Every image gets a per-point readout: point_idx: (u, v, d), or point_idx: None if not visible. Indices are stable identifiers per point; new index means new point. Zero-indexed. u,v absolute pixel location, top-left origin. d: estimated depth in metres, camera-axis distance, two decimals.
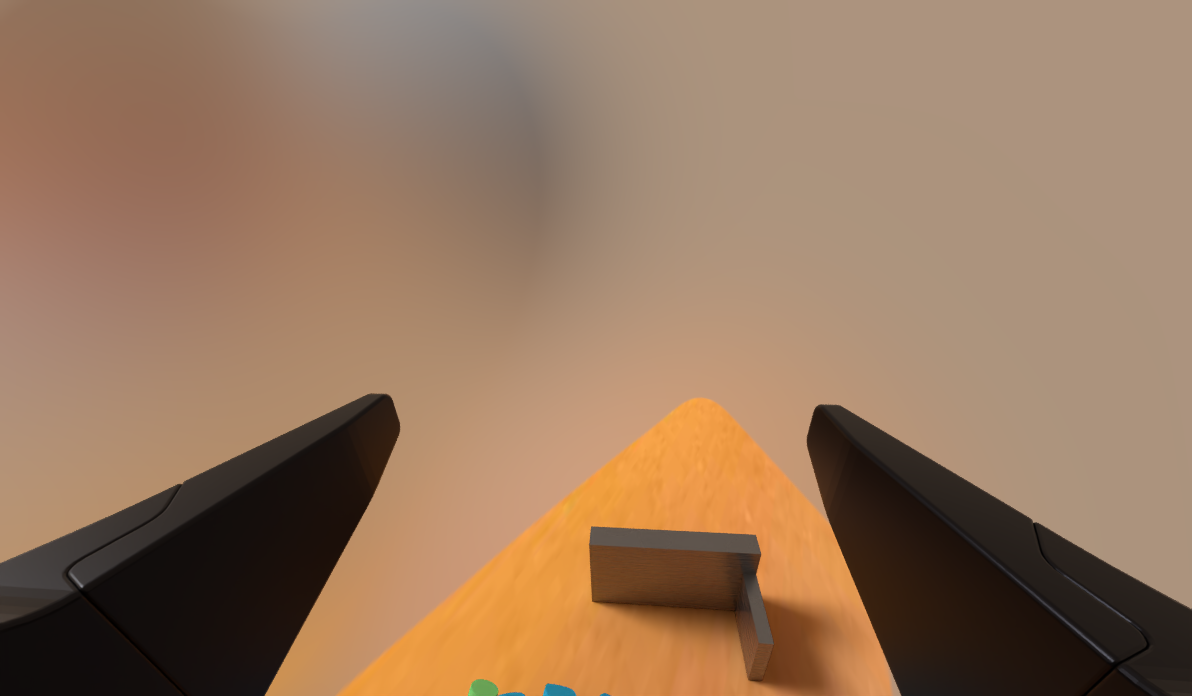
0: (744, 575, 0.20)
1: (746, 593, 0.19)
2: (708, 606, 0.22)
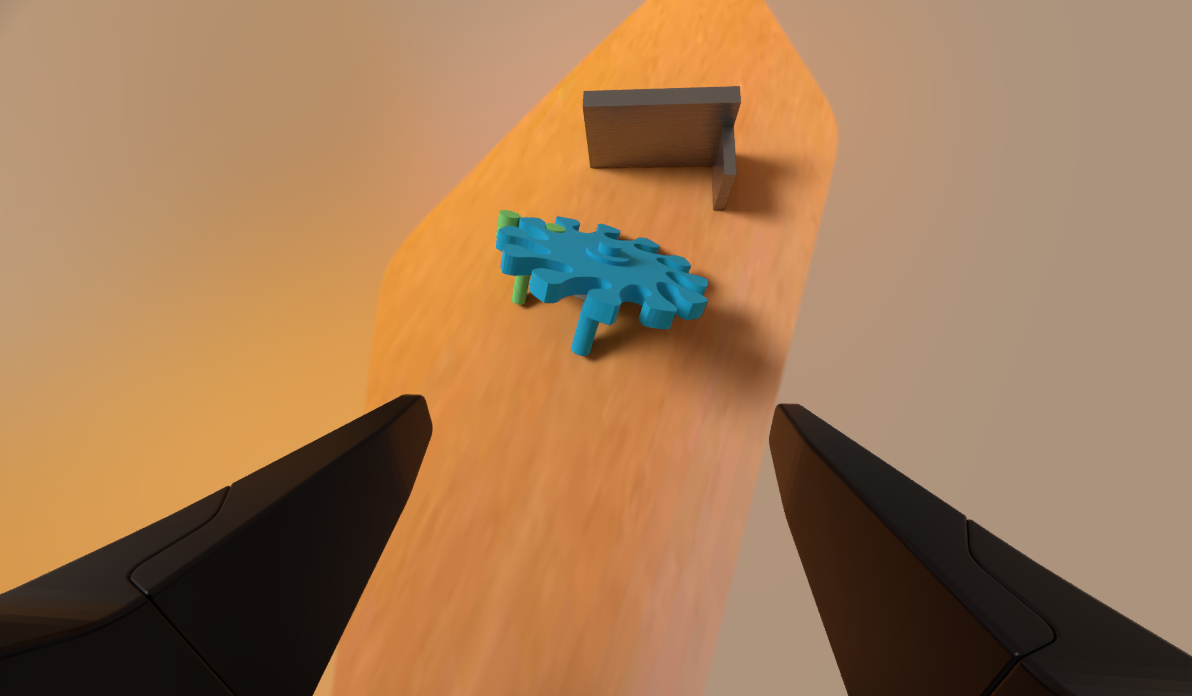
0: (723, 127, 0.22)
1: (722, 141, 0.22)
2: (689, 163, 0.25)
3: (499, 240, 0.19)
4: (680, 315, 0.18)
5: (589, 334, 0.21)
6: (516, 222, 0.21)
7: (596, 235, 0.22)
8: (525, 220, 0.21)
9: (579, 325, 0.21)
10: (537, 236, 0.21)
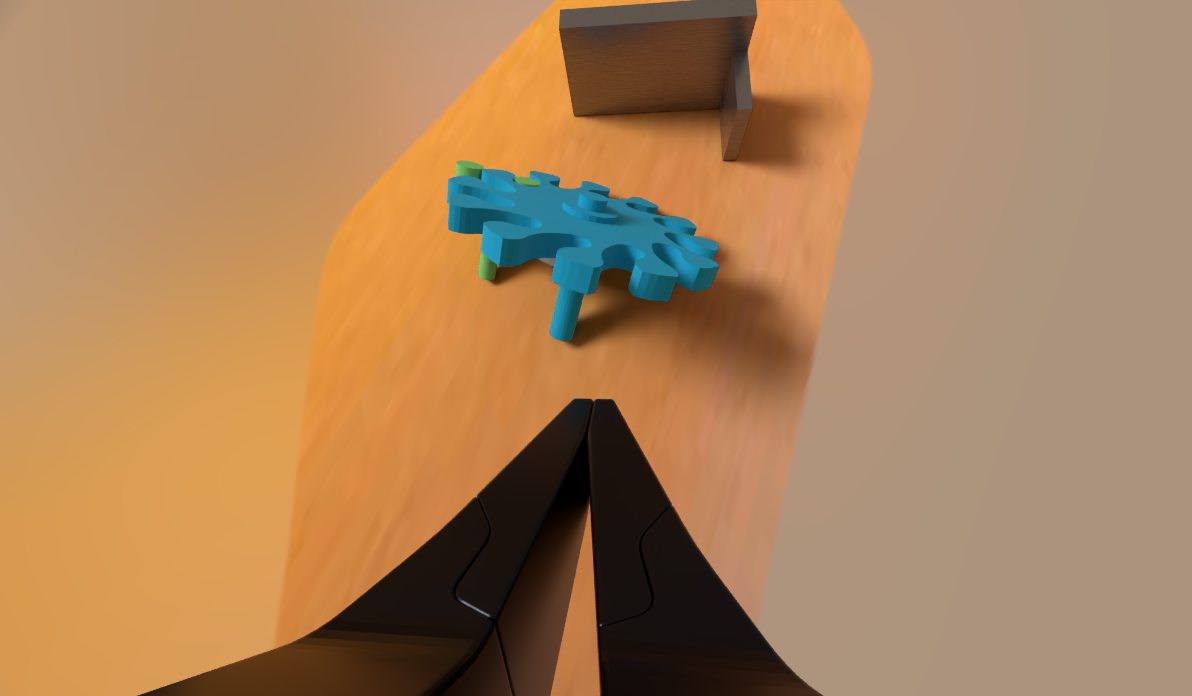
0: (734, 53, 0.18)
1: (733, 71, 0.18)
2: (692, 106, 0.21)
3: (450, 192, 0.15)
4: (682, 286, 0.14)
5: (570, 314, 0.17)
6: (477, 175, 0.17)
7: (578, 192, 0.18)
8: (488, 172, 0.17)
9: (558, 303, 0.17)
10: (503, 191, 0.17)
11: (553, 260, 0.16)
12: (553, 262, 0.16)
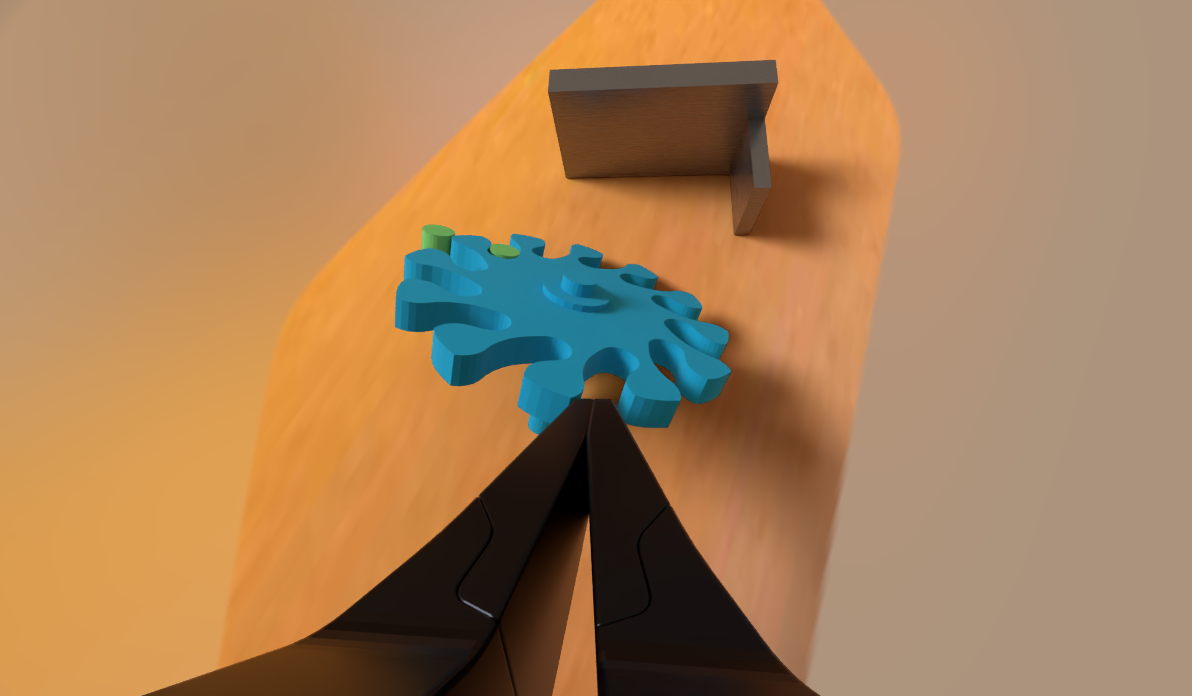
0: (749, 120, 0.16)
1: (748, 141, 0.16)
2: (700, 171, 0.19)
3: (407, 271, 0.12)
4: (686, 395, 0.11)
5: None
6: (446, 243, 0.14)
7: (565, 262, 0.15)
8: (459, 240, 0.14)
9: None
10: (474, 263, 0.14)
11: None
12: None
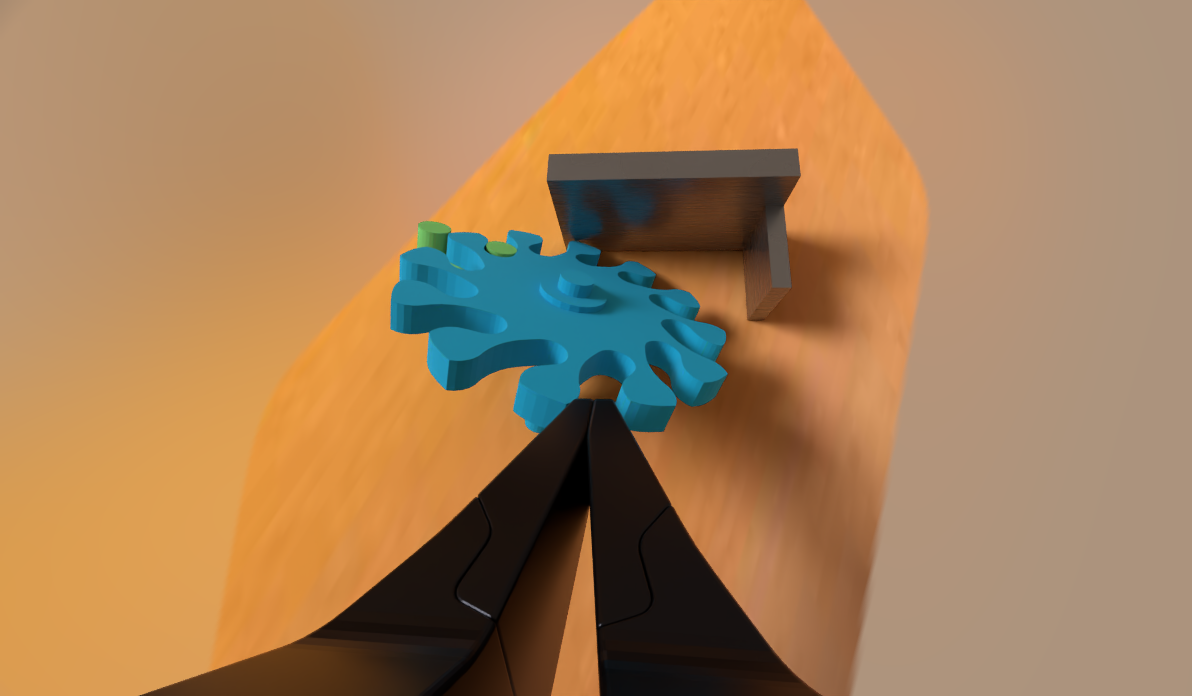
0: (767, 207, 0.14)
1: (765, 230, 0.14)
2: (711, 247, 0.17)
3: (402, 271, 0.12)
4: (682, 398, 0.11)
5: None
6: (443, 240, 0.14)
7: (562, 260, 0.15)
8: (455, 238, 0.14)
9: None
10: (471, 261, 0.14)
11: None
12: None
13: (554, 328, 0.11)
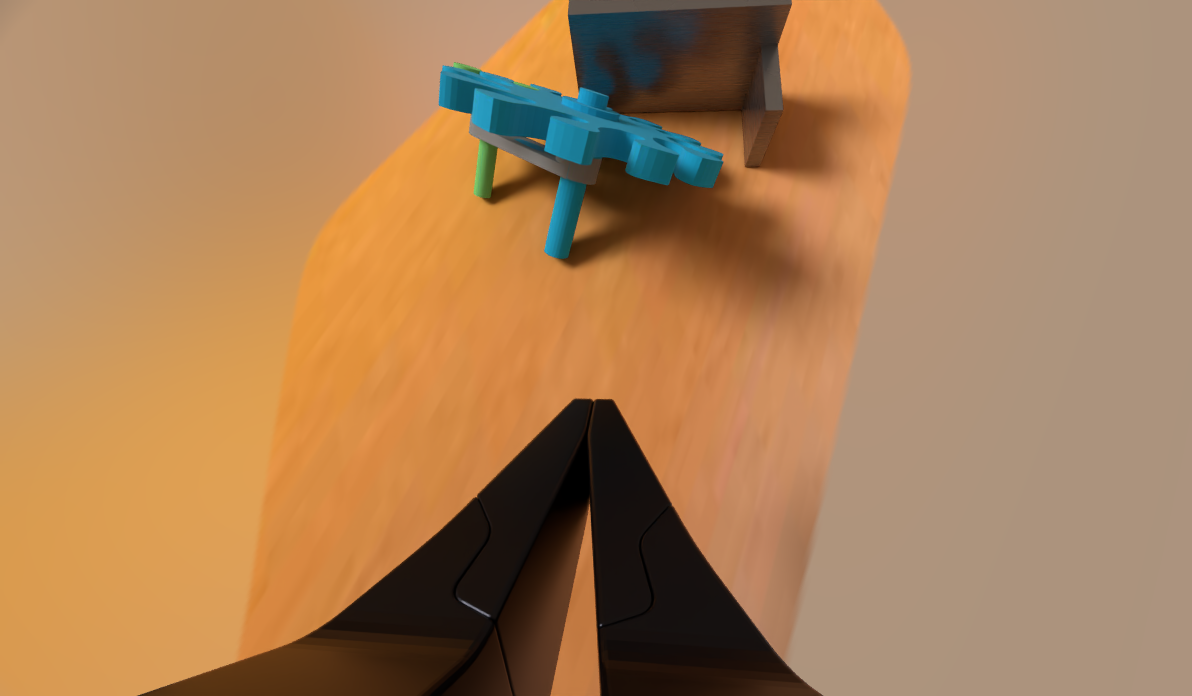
0: (762, 47, 0.16)
1: (761, 67, 0.16)
2: (712, 106, 0.19)
3: None
4: (684, 181, 0.13)
5: (566, 227, 0.17)
6: None
7: None
8: (486, 73, 0.16)
9: (553, 215, 0.17)
10: None
11: (550, 164, 0.15)
12: (550, 166, 0.15)
13: (576, 114, 0.13)
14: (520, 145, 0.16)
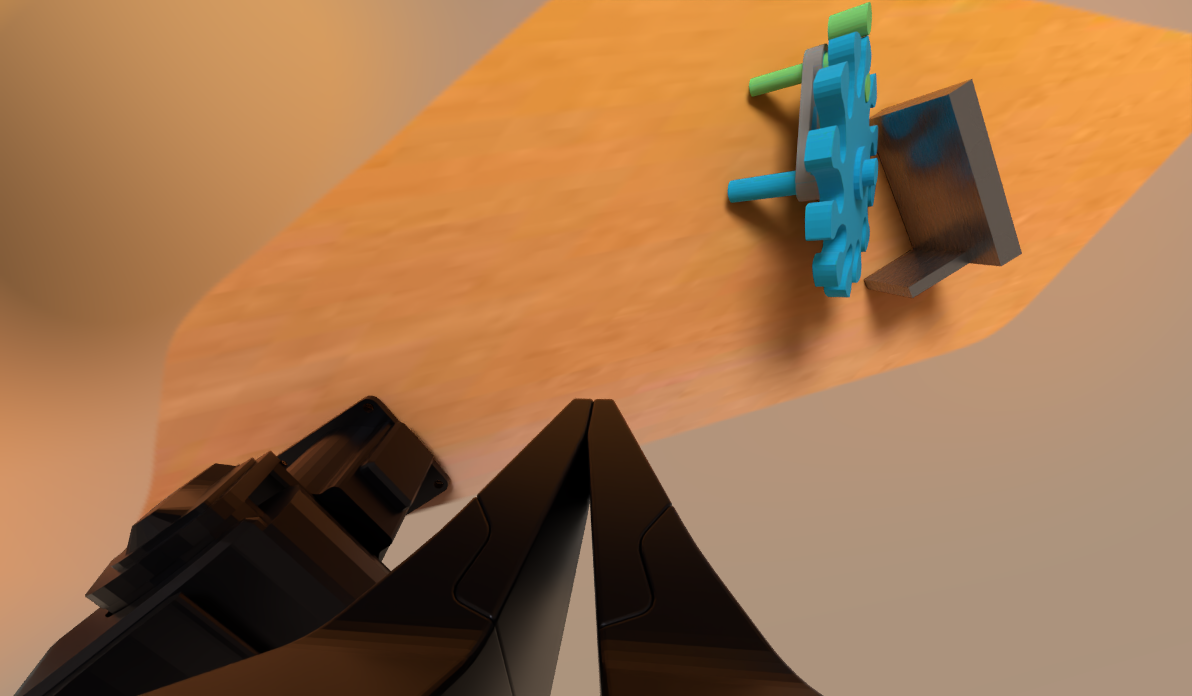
0: (964, 254, 0.20)
1: (946, 261, 0.20)
2: (908, 227, 0.22)
3: (841, 41, 0.15)
4: None
5: (756, 195, 0.20)
6: (860, 35, 0.16)
7: (869, 138, 0.19)
8: (867, 46, 0.16)
9: (761, 180, 0.19)
10: None
11: (802, 162, 0.18)
12: (800, 163, 0.18)
13: (847, 187, 0.16)
14: (809, 122, 0.18)
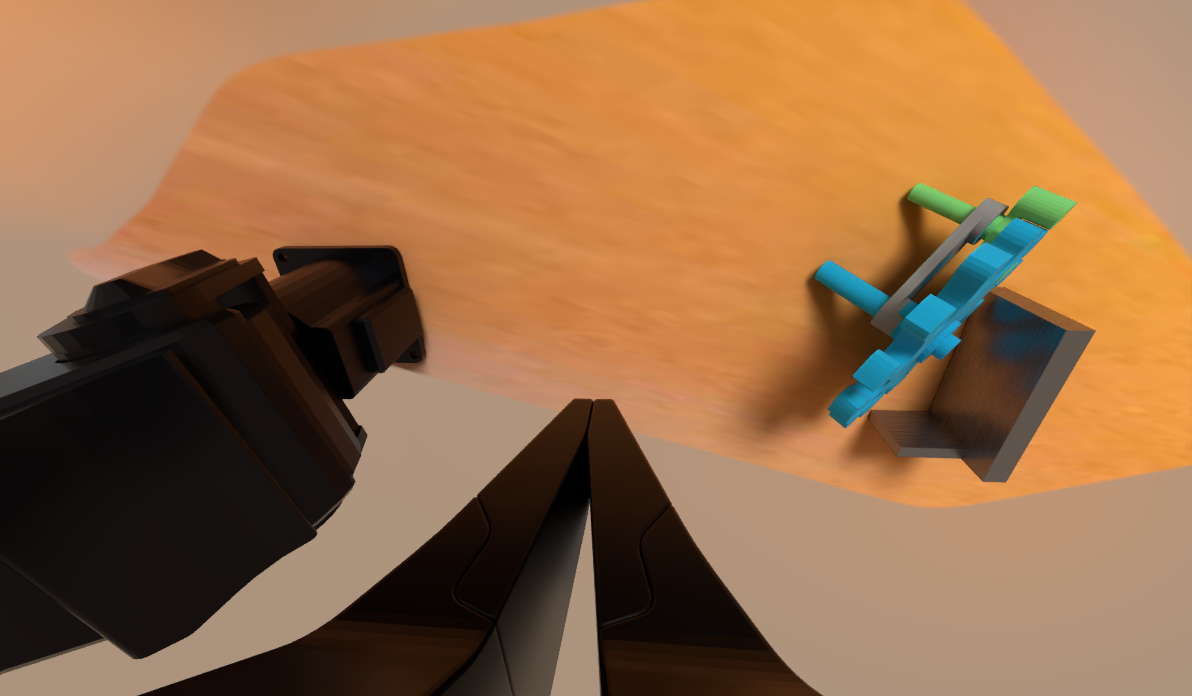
0: (963, 450, 0.21)
1: (945, 446, 0.21)
2: (939, 394, 0.23)
3: (1023, 228, 0.14)
4: None
5: (840, 290, 0.19)
6: (1042, 224, 0.15)
7: (968, 311, 0.18)
8: (1038, 239, 0.15)
9: (855, 282, 0.19)
10: None
11: (900, 296, 0.17)
12: (898, 296, 0.17)
13: (918, 352, 0.16)
14: (934, 267, 0.17)
